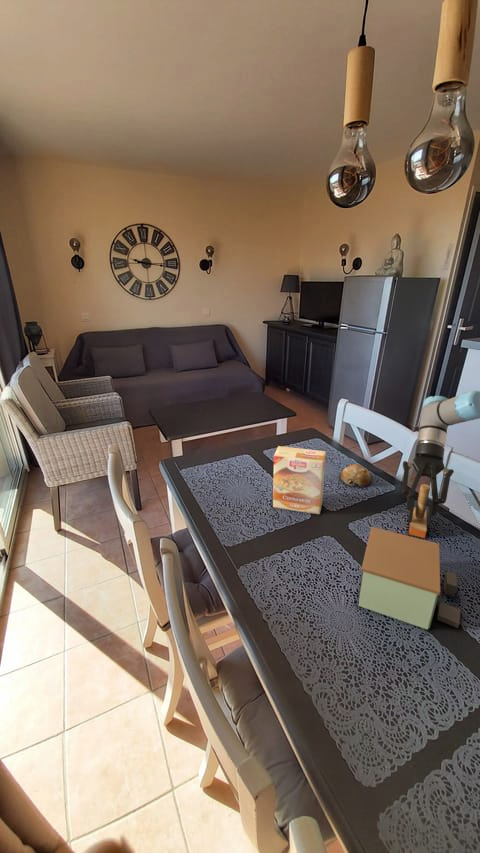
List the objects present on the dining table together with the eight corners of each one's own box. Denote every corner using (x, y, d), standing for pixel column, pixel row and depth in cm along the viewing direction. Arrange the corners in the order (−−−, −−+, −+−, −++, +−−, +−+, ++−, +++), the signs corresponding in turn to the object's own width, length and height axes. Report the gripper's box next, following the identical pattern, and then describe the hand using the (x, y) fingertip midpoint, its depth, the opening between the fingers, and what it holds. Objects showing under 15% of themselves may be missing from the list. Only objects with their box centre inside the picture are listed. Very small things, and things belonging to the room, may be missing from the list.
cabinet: (433, 583, 87) (443, 544, 82) (433, 635, 75) (445, 593, 70) (365, 563, 93) (371, 526, 88) (356, 608, 81) (361, 568, 76)
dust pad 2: (440, 601, 80) (438, 608, 81) (437, 615, 77) (436, 621, 77) (460, 609, 78) (458, 616, 79) (459, 623, 75) (457, 630, 75)
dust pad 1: (443, 596, 83) (453, 599, 82) (447, 583, 82) (457, 586, 81) (442, 583, 87) (452, 586, 86) (446, 571, 85) (455, 573, 84)
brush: (409, 515, 110) (417, 476, 105) (424, 519, 109) (433, 478, 103) (408, 536, 102) (417, 494, 96) (424, 540, 101) (434, 497, 95)
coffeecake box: (272, 509, 115) (273, 455, 108) (277, 496, 122) (277, 445, 114) (320, 516, 111) (324, 461, 103) (322, 503, 117) (326, 450, 110)
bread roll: (339, 492, 129) (341, 480, 123) (340, 468, 136) (342, 456, 130) (369, 495, 127) (372, 483, 121) (368, 471, 133) (371, 458, 127)
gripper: (460, 455, 107) (451, 533, 100) (399, 445, 114) (386, 518, 107) (466, 446, 101) (456, 530, 94) (400, 436, 108) (386, 513, 101)
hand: (419, 523), depth 101 cm, fingers closed on brush, 4 cm apart
